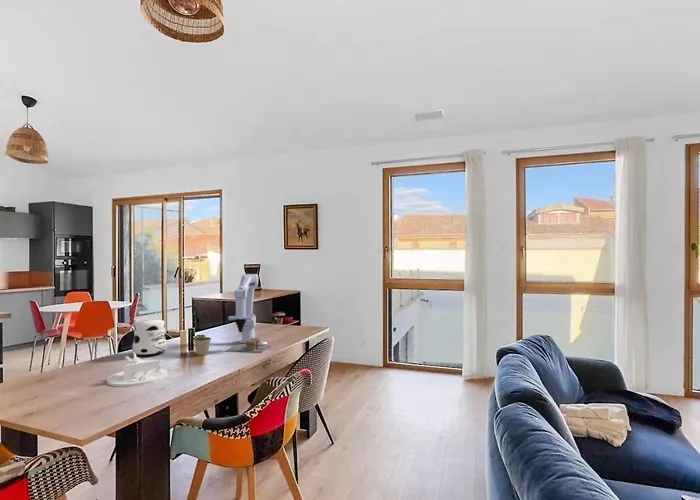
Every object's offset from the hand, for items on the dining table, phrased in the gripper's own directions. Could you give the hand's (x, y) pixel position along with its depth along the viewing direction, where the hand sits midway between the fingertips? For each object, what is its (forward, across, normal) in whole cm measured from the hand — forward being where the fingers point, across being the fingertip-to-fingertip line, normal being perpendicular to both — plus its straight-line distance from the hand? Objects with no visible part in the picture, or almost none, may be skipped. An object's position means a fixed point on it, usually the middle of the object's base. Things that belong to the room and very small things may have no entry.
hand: (240, 332), depth 243 cm
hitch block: (+10, +5, 0) cm, 11 cm away
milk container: (+10, -46, -18) cm, 51 cm away
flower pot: (+10, -16, -15) cm, 24 cm away
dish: (+10, -25, -59) cm, 65 cm away
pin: (+9, +10, 0) cm, 14 cm away
